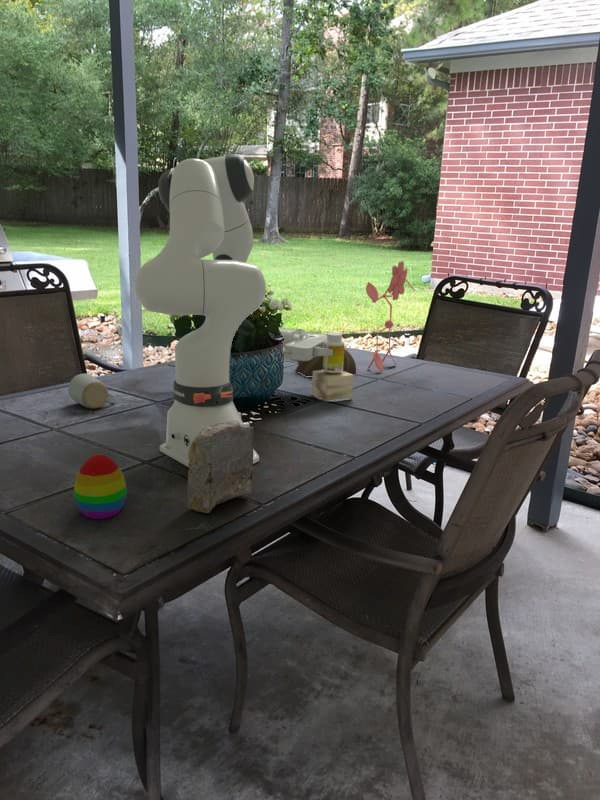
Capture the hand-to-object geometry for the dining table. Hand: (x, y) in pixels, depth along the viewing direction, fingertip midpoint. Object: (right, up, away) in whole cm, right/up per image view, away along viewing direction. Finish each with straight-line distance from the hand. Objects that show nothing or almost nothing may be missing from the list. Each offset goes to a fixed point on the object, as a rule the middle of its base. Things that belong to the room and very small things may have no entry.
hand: (337, 350), depth 177 cm
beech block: (-1, -13, +4) cm, 13 cm away
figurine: (+20, -4, +39) cm, 44 cm away
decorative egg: (-43, -32, -68) cm, 86 cm away
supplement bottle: (-1, -6, +2) cm, 6 cm away
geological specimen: (-23, -32, -64) cm, 75 cm away
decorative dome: (-2, -5, +33) cm, 33 cm away
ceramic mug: (-62, -15, -9) cm, 65 cm away
